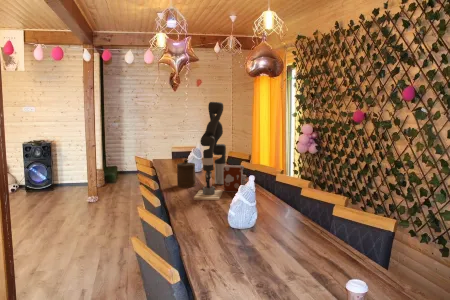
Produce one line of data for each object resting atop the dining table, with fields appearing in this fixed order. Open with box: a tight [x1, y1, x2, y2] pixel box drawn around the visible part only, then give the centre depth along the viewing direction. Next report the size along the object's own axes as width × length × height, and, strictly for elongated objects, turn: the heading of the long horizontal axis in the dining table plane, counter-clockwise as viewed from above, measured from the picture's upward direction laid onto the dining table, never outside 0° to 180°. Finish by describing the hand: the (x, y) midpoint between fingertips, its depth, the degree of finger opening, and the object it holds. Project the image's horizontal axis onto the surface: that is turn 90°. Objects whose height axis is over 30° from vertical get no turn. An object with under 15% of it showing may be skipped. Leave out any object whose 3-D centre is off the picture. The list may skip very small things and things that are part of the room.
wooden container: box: [176, 158, 196, 188], centre depth 332 cm, size 15×15×22 cm
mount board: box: [193, 189, 224, 201], centre depth 297 cm, size 24×18×2 cm
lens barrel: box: [202, 185, 216, 195], centre depth 297 cm, size 8×8×5 cm
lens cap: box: [205, 177, 213, 188], centre depth 296 cm, size 4×4×8 cm
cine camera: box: [222, 164, 249, 193], centre depth 309 cm, size 9×19×20 cm, turn 78°
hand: (208, 186), depth 296 cm, fingers closed on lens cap, 4 cm apart
